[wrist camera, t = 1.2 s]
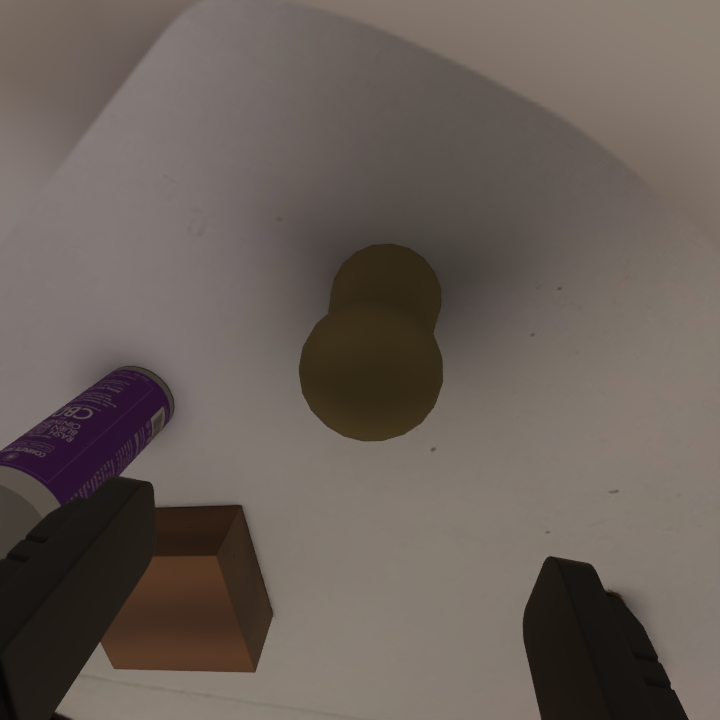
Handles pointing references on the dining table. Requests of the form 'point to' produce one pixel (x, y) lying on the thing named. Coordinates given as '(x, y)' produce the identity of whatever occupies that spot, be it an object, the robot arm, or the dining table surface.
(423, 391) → the olive pawn
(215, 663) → the walnut block
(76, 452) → the container
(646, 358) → the dining table surface
